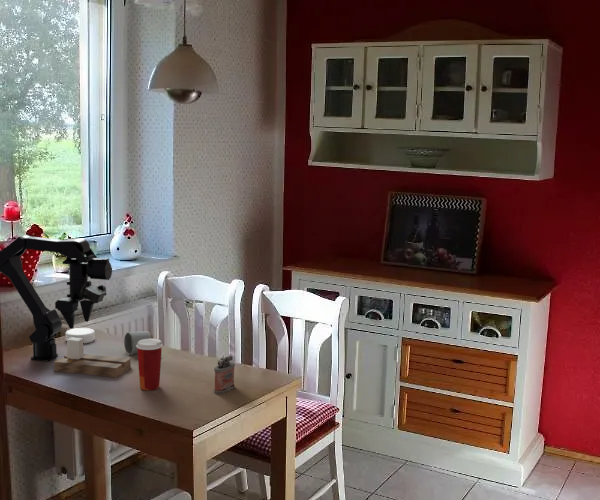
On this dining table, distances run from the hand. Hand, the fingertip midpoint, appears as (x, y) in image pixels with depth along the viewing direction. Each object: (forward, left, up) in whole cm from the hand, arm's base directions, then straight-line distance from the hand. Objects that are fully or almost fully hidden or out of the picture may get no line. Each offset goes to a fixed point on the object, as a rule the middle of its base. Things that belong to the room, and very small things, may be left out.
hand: (79, 324), depth 243 cm
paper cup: (+32, -17, -12) cm, 38 cm away
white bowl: (-11, +21, -12) cm, 27 cm away
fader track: (+8, -7, -12) cm, 16 cm away
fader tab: (+2, -7, -10) cm, 12 cm away
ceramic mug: (+14, +14, -12) cm, 23 cm away
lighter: (+54, -13, -12) cm, 57 cm away
